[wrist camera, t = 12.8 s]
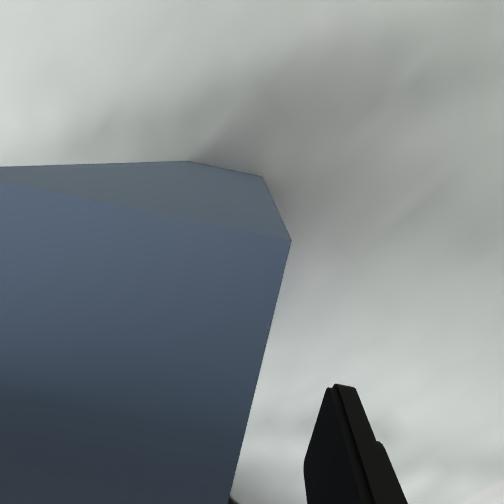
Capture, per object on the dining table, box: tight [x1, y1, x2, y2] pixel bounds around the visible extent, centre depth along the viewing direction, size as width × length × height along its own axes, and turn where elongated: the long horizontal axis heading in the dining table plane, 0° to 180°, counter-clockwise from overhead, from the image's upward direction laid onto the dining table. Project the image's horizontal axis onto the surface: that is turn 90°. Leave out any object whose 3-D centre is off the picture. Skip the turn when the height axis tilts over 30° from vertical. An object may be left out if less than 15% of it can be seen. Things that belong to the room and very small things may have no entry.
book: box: [0, 161, 291, 504], centre depth 15 cm, size 12×5×18 cm, turn 168°
